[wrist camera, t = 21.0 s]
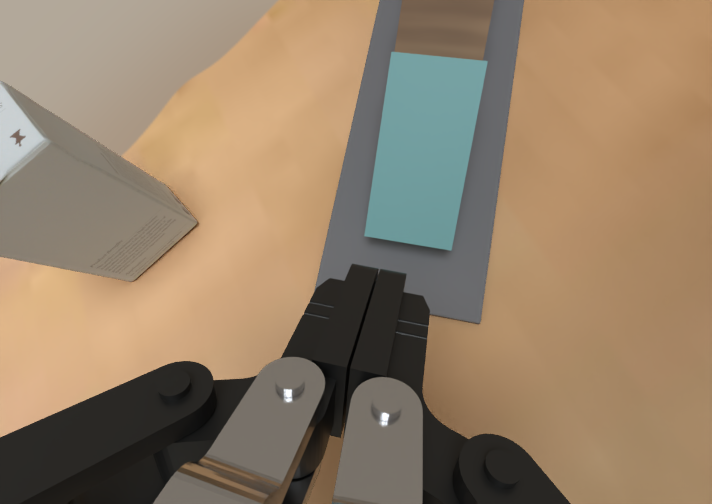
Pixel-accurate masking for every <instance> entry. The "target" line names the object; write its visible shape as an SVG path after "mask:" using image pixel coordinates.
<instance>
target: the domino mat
mask: <svg viewBox="0 0 712 504" xmlns="http://www.w3.org/2000/svg"><path fill="white" fill-rule="evenodd" d="M401 4H402V0H380V2H379V6H378V10H377V15H376V19H375V24H374V28H373V33H372V37H371V42H370V46H369V51H368V55H367V59H366V64H365V68H364V73H363V77H362V82H361V86H360V91H359V95H358V100H357V104H356V108H355V113H354V117H353V122H352V126H351V131H350V135H349V140H348V144H347V149H346V153H345V157H344V162H343V166H342V171H341V175H340V180H339V184H338V189H337V193H336V198H335V202H334V206H333V211H332V215H331V220H330V224H329V229H328V233H327V238H326V242H325V247H324V251H323V255H322V260H321V264H320V269H319V273H318V278H317V282H316V287H315V290H316V288H317V287H318V286H320V285H321V284H322V283H324V282H325V281H326V280H328V279H329V278H333V279H338V280H343V281H345V278H346V276H347V274H348V271H349V269H350V266H351V265H352V264H358V265H363V266H368V267H374V268H378V269H379V271H380V269H385V270H390V271H396V272H401V273H407V276H406V282H405V287H404V292H406V293H411V294H416V295H422V296H424V299H425V301H426V303H427V305H428V307H429V309H430V314H429V315H435V316H440V317H445V318H450V319H455V320H460V321H466V322H471V323H476V324H480V321H481V314H482V306H483V299H484V292H485V284H486V277H487V270H488V262H489V255H490V247H491V240H492V233H493V225H494V218H495V211H496V203H497V196H498V188H499V181H500V174H501V166H502V159H503V152H504V144H505V137H506V129H507V122H508V115H509V107H510V100H511V93H512V85H513V78H514V70H515V63H516V56H517V48H518V41H519V33H520V26H521V19H522V11H523V4H524V0H494V4H493V10H492V15H491V20H490V25H489V31H488V36H487V41H486V46H485V52H484V57H483V61H488V63H487V68H486V73H485V78H484V83H483V89H482V94H481V99H480V104H479V110H478V115H477V120H476V125H475V130H474V136H473V141H472V146H471V151H470V156H469V162H468V167H467V172H466V177H465V182H464V188H463V193H462V198H461V203H460V209H459V214H458V219H457V224H456V229H455V235H454V240H453V245H452V250H451V251H450V250H444V249H438V248H432V247H426V246H420V245H414V244H408V243H403V242H397V241H391V240H385V239H379V238H373V237H367V236H364V234H365V228H366V221H367V214H368V207H369V201H370V194H371V187H372V180H373V173H374V167H375V160H376V153H377V146H378V139H379V133H380V126H381V119H382V112H383V106H384V99H385V92H386V85H387V78H388V72H389V65H390V58H391V52H394V51H395V44H396V37H397V31H398V24H399V17H400V10H401ZM378 274H379V272H378ZM314 292H315V291H314Z"/></svg>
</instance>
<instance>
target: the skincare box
mask: <svg viewBox="0 0 712 504" xmlns="http://www.w3.org/2000/svg"><path fill="white" fill-rule="evenodd" d="M196 224H197V221H196V219H195V218H194V217H193V216H192V215H191V213H190V212H189V211H188V210H187V209H186V208H185V206H184V205H183V204H182V203H181V202H180V201H179V199H178V198H177V197H176V196H175V195H174V194H173V193H172V191H171V190H170V189H169V188H168V187H167V186H166V185H165V184H163V183H162V182H160V181H158V180H157V179H155V178H154V177H152V176H150V175H149V174H147V173H146V172H144V171H143V170H141V169H140V168H138V167H136V166H135V165H133V164H132V163H130V162H129V161H127V160H125V159H124V158H122V157H121V156H119V155H118V154H116V153H114V152H113V151H111V150H110V149H108V148H107V147H105V146H104V145H102V144H100V143H99V142H97V141H96V140H94V139H93V138H91V137H89V136H88V135H86V134H85V133H83V132H82V131H80V130H79V129H77V128H75V127H74V126H72V125H71V124H69V123H68V122H66V121H64V120H63V119H61V118H60V117H58V116H56V115H55V114H53V113H52V112H50V111H48V110H47V109H45V108H43V107H42V106H40V105H39V104H37V103H36V102H34V101H33V100H31V99H30V98H28V97H27V96H25V95H24V94H22V93H20V92H19V91H17V90H16V89H14V88H13V87H11V86H9V85H8V84H6V83H4V82H2V81H0V257H4V258H10V259H15V260H20V261H25V262H31V263H36V264H41V265H46V266H52V267H57V268H62V269H67V270H72V271H77V272H83V273H88V274H94V275H99V276H104V277H109V278H114V279H119V280H124V281H130V282H132V281H134V280H135V279H136V278H138V277H139V276H140V275H141V274H142V273H143V272H144V271H145V270H146V269H147V268H149V267H150V266H151V265H152V264H153V263H154V262H155V261H156V260H157V259H159V258H160V257H161V256H162V255H163V254H164V253H165V252H166V251H167V250H169V249H170V248H171V247H172V246H173V245H174V244H175V243H176V242H178V241H179V240H180V239H181V238H182V237H183V236H184V235H185V234H186V233H188V232H189V231H190V230H191V229H192V228H193V227H194V226H195V225H196Z"/></svg>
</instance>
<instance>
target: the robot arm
mask: <svg viewBox="0 0 712 504" xmlns="http://www.w3.org/2000/svg"><path fill="white" fill-rule="evenodd" d="M378 272H379V274H378ZM406 276H407V273H401V272H396V271H390V270H385V269H380V271H379V269H378V268H374V267H368V266H363V265H358V264H352V265H351V266H350V269H349V271H348V274H347V276H346V278H345V281H343V280H338V279H333V278H329V279H328V280H326V281H325V282H324V283H322V284H321V285H320V286H318V287H317V288H316V290H315V292H314V294H313V296H312V298H311V300H310V303H309V304H308V306H307V308H306V310H305V312H304V315H303V316H302V318H301V320H300V322H299V324H298V325H297V327H296V329H295V331H294V333H293V335H292V337H291V339H290V341H289V343H288V345H287V347H286V349H285V351H284V353H283V355H282V357H281V358H280V359H278V360H275V361H273V362H271V363H269V364H268V365H266V366H265V367H264V368H263V369H262V370H261V371H260V373H259V374H258V375H257V376H254V377H250V378H244V379H230V380H213V376H212V374H211V372H210V371H209V370H208V368H206V367H205V366H203V365H201V364H199V363H196V362H190V361H181V362H175V363H171V364H168V365H165V366H162V367H160V368H158V369H156V370H153V371H151V372H149V373H146V374H144V375H142V376H140V377H137V378H135V379H133V380H130V381H128V382H126V383H124V384H121V385H119V386H117V387H114V388H112V389H110V390H108V391H105V392H103V393H101V394H99V395H96V396H94V397H92V398H89V399H87V400H85V401H83V402H80V403H78V404H76V405H73V406H71V407H69V408H67V409H64V410H62V411H60V412H57V413H55V414H53V415H51V416H48V417H46V418H44V419H41V420H39V421H37V422H35V423H32V424H30V425H28V426H26V427H23V428H21V429H19V430H16V431H14V432H12V433H10V434H7V435H5V436H3V437H0V504H307V502H308V500H309V497H310V494H311V492H312V489H313V487H314V484H315V481H316V479H317V476H318V474H319V471H320V467H321V461H322V459H323V456H324V453H325V450H326V447H327V443H328V440H329V437H330V435H332V436H336V437H340V438H341V434H342V431H343V427H344V423H345V427H344V441H343V446H342V451H341V457H340V462H339V468H338V473H337V479H336V484H335V490H334V495H333V500H332V504H570V503H569V501H568V500H567V499H566V498H565V497H564V495H563V494H562V493H561V492H560V491H559V490H558V488H557V487H556V486H555V485H554V484H553V482H552V481H551V480H550V479H549V478H548V477H547V475H546V474H545V473H544V472H543V471H542V469H541V468H540V467H539V466H538V465H537V464H536V462H535V461H534V460H533V459H532V458H531V456H530V455H529V454H528V453H527V452H526V451H525V450H524V449H523V448H521V447H520V446H519V445H517V444H516V443H514V442H513V441H511V440H509V439H507V438H505V437H502V436H499V435H494V434H481V435H477V436H474V437H472V438H471V439H467V438H465V437H464V436H462V435H460V434H458V433H456V432H455V431H453V430H451V429H449V428H448V427H446V426H445V425H443V424H442V423H441V422H439V421H438V420H437V419H436V418H435V417H434V416H433V415H432V413H431V412H430V411H429V409H428V408H427V406H426V404H425V401H424V398H423V393H422V386H423V375H424V365H425V355H426V345H427V335H428V325H429V314H430V309H429V307H428V305H427V303H426V301H425V299H424V296H422V295H416V294H411V293H406V292H404V287H405V282H406Z"/></svg>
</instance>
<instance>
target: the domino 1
mask: <svg viewBox="0 0 712 504" xmlns="http://www.w3.org/2000/svg"><path fill="white" fill-rule="evenodd" d="M493 4H494V0H402V4H401V10H400V17H399V24H398V31H397V37H396V44H395V51H394V52H400V53H410V54H420V55H430V56H441V57H451V58H461V59H471V60H481V61H483V57H484V52H485V46H486V41H487V36H488V31H489V25H490V20H491V15H492V10H493Z"/></svg>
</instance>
